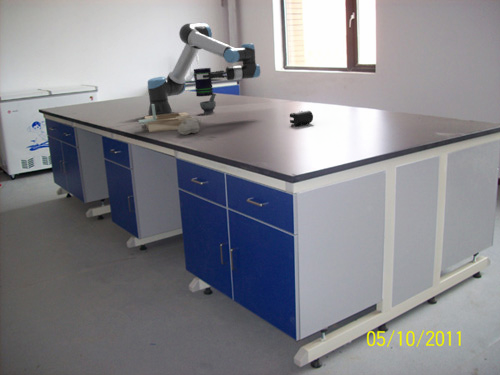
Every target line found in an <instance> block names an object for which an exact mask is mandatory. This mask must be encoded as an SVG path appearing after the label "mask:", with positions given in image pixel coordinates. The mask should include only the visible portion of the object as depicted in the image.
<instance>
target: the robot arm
mask: <svg viewBox="0 0 500 375" xmlns="http://www.w3.org/2000/svg"><path fill="white" fill-rule="evenodd" d="M178 34H179V38H180V40H181V41H182V43H184V47H183V50H182V51H181V53H180V56H179V58H178V59H177V61H176V64H175V65H174V68H173V70H172V71H170V72H169V73H168V74H167V76H166V77H165V76H158V77H153V78H150V79H148V80H147V90H148V99H149V107H148V116H153V113H152V105H151V104H154V105H155V113H156V115H163V114H172V113H173V109H172V108H171V107H172V106H170V103H169V99H168V97H173V96H179V95H182V94H183V93H184V91H185V90H186V87H187V86H186V83H187V82H186V76H187V74H188V72H189V70H190V68H191V66H192V64H193V63H194V60H195V59H196V56H197V54H198V52H199V51H201V50H204V51H206V52H209V53H211V54H213V55H215V56H218V57H219V58H220V57H221V58H223V59H224V60H225V61H226V62H227V63H229V64H235V63H240V62H242V65H234V66H226V68H225V70H216V71H211V72H208V74H209V75H208V74H197V80H198V79H209V78H211V80H212V79H217V78H218V79H220V78H222V79H223V78H226V80H227V81H233V80H238V81H240V80H242V79H243V80H247V79H256V78H259V77H260V76H261V67H260V64H257V62H256V49H255V44H254V43H242V44H241V46H240V47H237V48H235V47H233V46H231V45H229V44H227V43H224V42H221V41H219V40H217V39H215V38H213V36H212V35H213V33H212V29H211V27H210V26H209V25H208V24H207V23H205V22H204V23H203V22H198V23H197V22H194V23H192V22H191V23H185V24H183V25H182V26H181V28H180V30H179V32H178ZM210 73H211V74H210ZM194 77H195V76H194V75H193V78H194Z"/></svg>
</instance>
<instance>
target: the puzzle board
mask: <svg viewBox="0 0 500 375" xmlns="http://www.w3.org/2000/svg"><path fill="white" fill-rule="evenodd" d="M152 118H153V116H149V115H146V116H144V119H152ZM190 118H193V116H191V115H190V114H189V113H187V111H183V112H174V113H173V112H172V114H163V115H156V120H157V121H151V122H148V123H144V125H145V126H146V128H147V130H148V132H149V133H157V132H167V131H174V130H175V131H176V130H178V126H180V125H181V124H182V122H183V121H184V120H185V119H190Z"/></svg>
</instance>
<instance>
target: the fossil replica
mask: <svg viewBox="0 0 500 375" xmlns="http://www.w3.org/2000/svg"><path fill="white" fill-rule="evenodd" d="M201 122H202V120H201V119H200V118H199V117H192V118H190V119H185V120H184V121H183V122H182V124H181V125H180V126H178V129H177V131H178V133H179V134H180V135H183V136H187V135H189V134H197V133H198V132H199V131H200V124H201Z"/></svg>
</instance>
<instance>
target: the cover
mask: <svg viewBox="0 0 500 375" xmlns="http://www.w3.org/2000/svg"><path fill="white" fill-rule="evenodd" d="M151 105H152V113H153V118H152V119H145V118H144V119H138V123H139V125H141V124H145V123H148V122H151V121H157V120H156V113H155V105H154V104H151Z"/></svg>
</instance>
